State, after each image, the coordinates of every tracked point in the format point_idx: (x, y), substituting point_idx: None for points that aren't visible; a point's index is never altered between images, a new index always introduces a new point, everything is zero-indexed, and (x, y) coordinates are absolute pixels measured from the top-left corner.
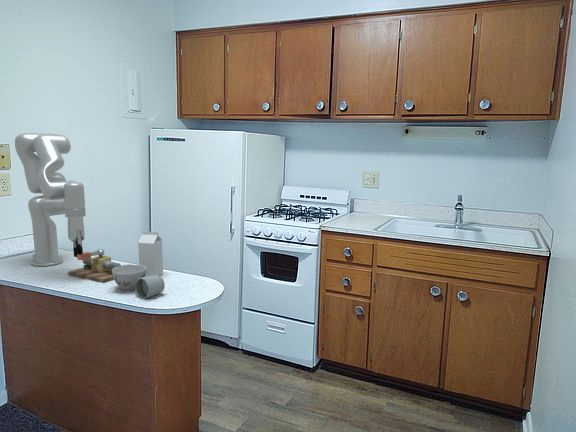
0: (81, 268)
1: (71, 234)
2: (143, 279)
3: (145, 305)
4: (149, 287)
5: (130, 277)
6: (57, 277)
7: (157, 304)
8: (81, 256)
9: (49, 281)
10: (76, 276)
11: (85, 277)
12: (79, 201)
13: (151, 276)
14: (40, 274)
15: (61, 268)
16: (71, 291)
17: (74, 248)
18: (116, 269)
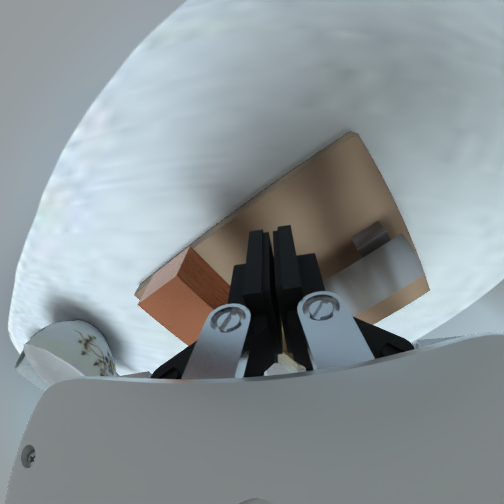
0: (386, 209)
1: (18, 482)
2: (15, 368)
3: (13, 327)
4: (20, 360)
5: (38, 359)
6: (321, 73)
7: (21, 342)
8: (144, 296)
9: (247, 36)
10: (288, 173)
11: (224, 221)
12: None
13: (35, 384)
14: (414, 12)
15: (478, 120)
16: (58, 174)
17: (244, 293)
18: (73, 360)
